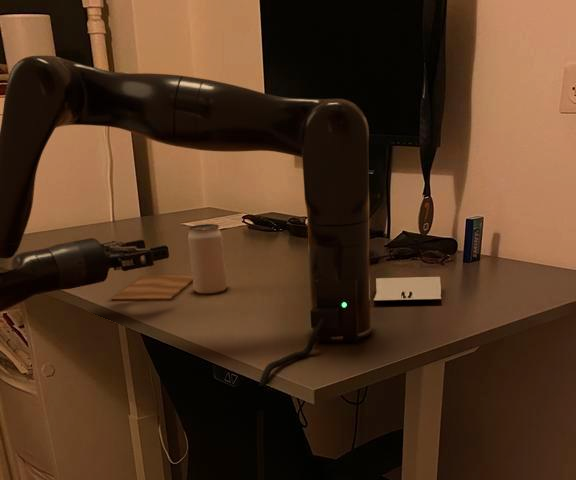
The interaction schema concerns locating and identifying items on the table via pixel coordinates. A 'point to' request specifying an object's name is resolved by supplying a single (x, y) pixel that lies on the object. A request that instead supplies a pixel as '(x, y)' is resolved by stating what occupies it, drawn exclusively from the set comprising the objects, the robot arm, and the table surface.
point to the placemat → (155, 288)
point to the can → (207, 259)
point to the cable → (395, 254)
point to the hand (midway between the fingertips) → (155, 248)
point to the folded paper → (408, 288)
